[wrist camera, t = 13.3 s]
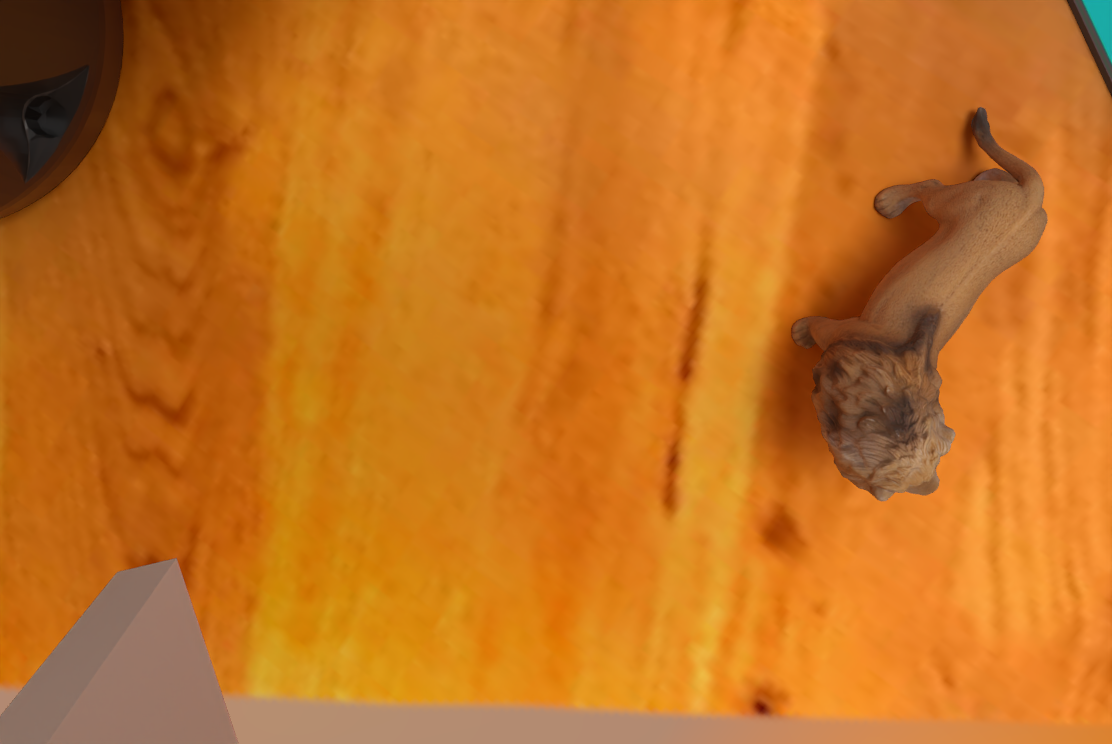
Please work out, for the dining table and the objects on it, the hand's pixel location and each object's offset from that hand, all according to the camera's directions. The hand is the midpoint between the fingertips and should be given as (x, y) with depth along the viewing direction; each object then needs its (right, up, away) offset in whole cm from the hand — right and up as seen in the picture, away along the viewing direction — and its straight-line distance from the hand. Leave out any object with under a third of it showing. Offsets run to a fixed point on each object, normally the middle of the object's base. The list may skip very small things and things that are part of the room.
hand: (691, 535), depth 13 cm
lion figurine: (+11, +5, +28) cm, 30 cm away
